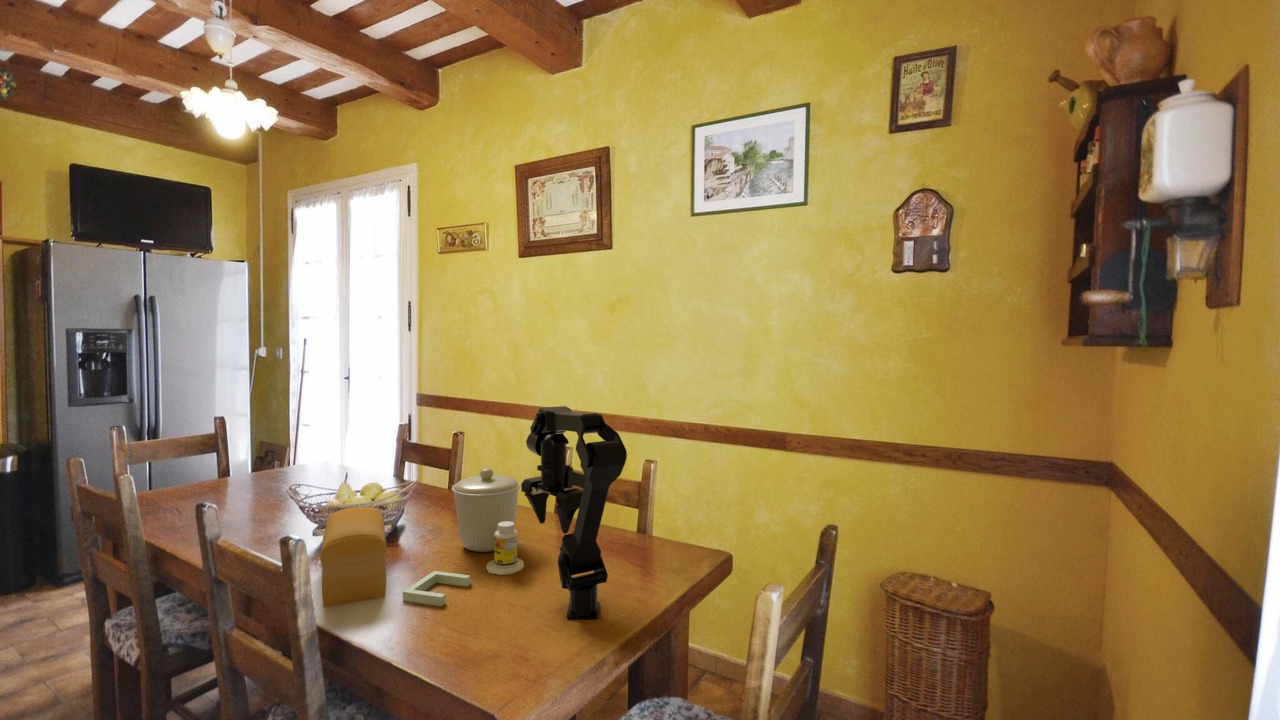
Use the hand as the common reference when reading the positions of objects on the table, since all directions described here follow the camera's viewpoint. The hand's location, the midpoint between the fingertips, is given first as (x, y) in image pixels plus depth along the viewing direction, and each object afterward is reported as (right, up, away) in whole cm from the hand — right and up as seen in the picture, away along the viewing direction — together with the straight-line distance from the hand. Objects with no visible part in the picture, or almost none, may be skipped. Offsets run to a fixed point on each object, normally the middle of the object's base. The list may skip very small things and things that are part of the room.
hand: (553, 528), depth 138 cm
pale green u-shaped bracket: (-25, -13, -4) cm, 29 cm away
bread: (-46, -13, +2) cm, 48 cm away
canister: (-21, -12, +24) cm, 35 cm away
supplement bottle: (-13, -12, +9) cm, 20 cm away
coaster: (-13, -12, +9) cm, 20 cm away
